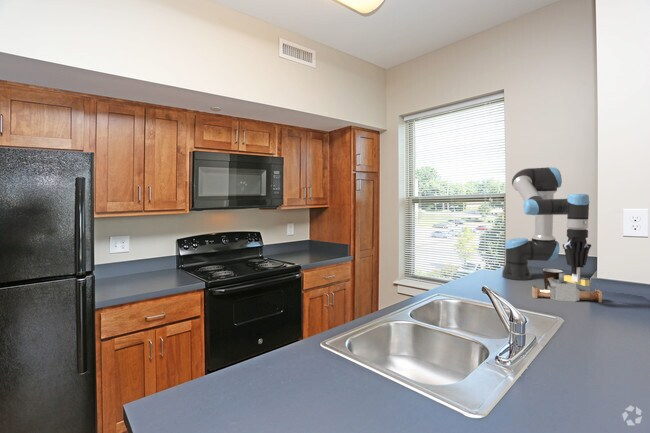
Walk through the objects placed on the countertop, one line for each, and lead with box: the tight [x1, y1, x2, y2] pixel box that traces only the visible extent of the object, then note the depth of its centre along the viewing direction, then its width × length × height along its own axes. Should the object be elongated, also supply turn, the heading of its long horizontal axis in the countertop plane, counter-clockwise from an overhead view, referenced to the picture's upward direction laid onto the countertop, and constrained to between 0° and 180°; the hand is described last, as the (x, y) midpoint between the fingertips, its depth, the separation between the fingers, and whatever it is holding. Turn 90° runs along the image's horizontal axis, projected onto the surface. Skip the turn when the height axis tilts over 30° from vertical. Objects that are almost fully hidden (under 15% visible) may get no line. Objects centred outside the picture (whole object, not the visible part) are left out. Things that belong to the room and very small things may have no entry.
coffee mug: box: [542, 268, 569, 289], centre depth 170 cm, size 12×9×10 cm
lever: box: [559, 272, 590, 287], centre depth 151 cm, size 13×3×4 cm, turn 12°
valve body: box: [531, 279, 603, 303], centre depth 156 cm, size 8×26×8 cm, turn 70°
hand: (575, 281), depth 148 cm, fingers closed
